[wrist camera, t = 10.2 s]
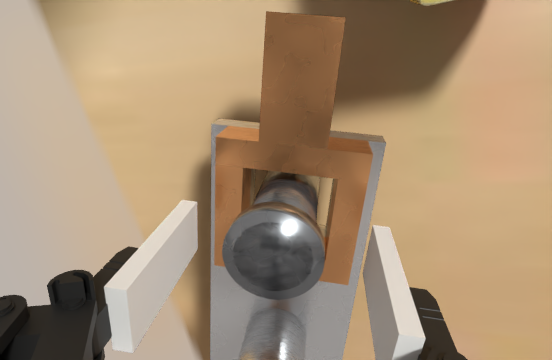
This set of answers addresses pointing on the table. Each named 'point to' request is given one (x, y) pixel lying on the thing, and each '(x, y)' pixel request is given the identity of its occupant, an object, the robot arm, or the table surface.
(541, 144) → the table surface
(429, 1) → the flower pot
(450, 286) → the table surface
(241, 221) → the pin
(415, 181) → the table surface
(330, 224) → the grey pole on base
